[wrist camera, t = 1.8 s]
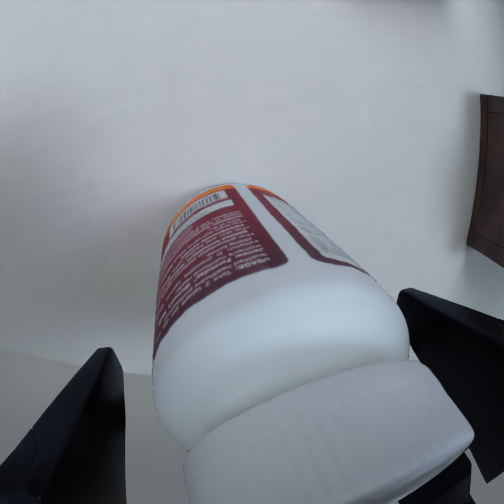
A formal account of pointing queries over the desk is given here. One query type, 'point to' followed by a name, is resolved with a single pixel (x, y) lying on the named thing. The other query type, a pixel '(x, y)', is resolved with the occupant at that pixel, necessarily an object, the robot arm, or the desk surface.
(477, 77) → the desk surface
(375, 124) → the desk surface
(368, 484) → the pill bottle
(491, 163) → the rack
